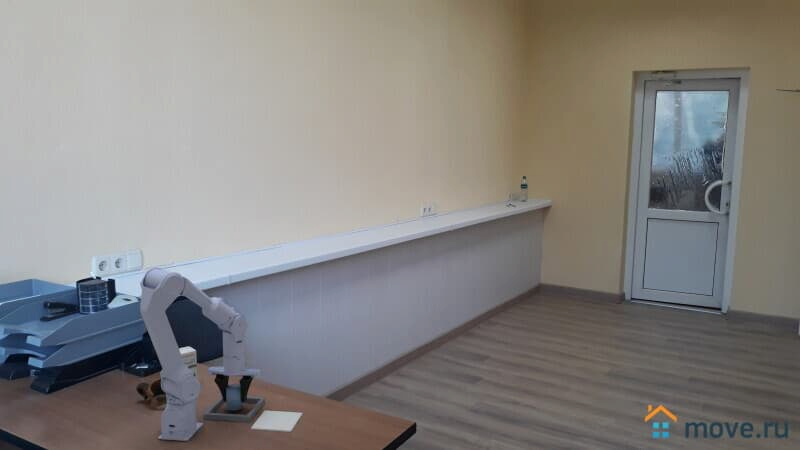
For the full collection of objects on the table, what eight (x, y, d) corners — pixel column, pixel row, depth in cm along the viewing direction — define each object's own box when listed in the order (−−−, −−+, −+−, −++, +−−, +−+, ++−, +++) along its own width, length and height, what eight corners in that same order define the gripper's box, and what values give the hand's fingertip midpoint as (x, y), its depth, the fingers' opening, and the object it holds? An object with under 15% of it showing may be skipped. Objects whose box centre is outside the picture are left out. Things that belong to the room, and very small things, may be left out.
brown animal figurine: (180, 396, 190) (182, 378, 186) (169, 421, 182) (170, 403, 178) (141, 386, 189) (142, 368, 184) (127, 412, 181) (128, 393, 177)
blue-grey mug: (240, 411, 176) (239, 390, 175) (223, 409, 177) (223, 389, 176) (248, 401, 183) (248, 381, 182) (232, 400, 183) (232, 380, 182)
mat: (291, 432, 166) (291, 430, 166) (250, 429, 168) (250, 427, 168) (302, 414, 177) (302, 412, 177) (264, 411, 178) (264, 410, 178)
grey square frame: (249, 422, 172) (249, 417, 172) (203, 419, 173) (203, 414, 173) (265, 402, 185) (265, 397, 184) (222, 400, 186) (222, 395, 186)
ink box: (171, 393, 191) (170, 355, 189) (164, 388, 194) (163, 351, 193) (198, 385, 197) (197, 349, 195) (191, 381, 200) (189, 345, 199)
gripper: (263, 350, 180) (264, 396, 182) (215, 348, 182) (216, 393, 183) (254, 359, 173) (255, 406, 175) (204, 356, 175) (205, 403, 176)
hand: (234, 400), depth 179 cm, fingers closed on blue-grey mug, 5 cm apart
